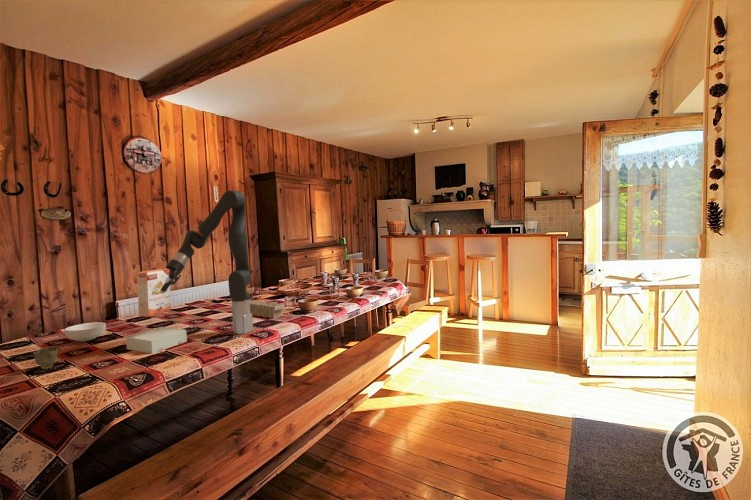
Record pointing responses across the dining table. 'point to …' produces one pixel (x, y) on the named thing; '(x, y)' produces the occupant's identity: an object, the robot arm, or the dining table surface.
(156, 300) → the cracker box
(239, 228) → the robot arm
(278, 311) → the block tower
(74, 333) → the cereal bowl
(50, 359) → the cup
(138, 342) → the pale square block
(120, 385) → the dining table surface
